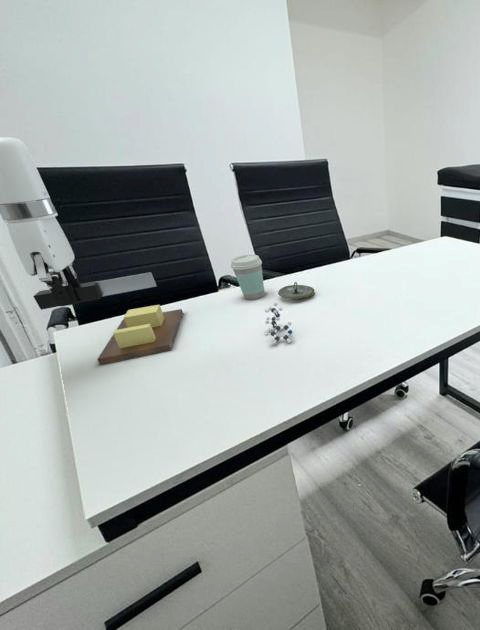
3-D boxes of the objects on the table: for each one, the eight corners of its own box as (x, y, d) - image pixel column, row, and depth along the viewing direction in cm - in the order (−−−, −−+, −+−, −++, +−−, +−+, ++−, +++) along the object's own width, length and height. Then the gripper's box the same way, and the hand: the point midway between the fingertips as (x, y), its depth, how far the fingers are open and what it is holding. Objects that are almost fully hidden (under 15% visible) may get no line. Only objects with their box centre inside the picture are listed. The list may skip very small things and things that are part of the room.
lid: (278, 299, 119) (271, 286, 116) (306, 284, 122) (300, 270, 120) (291, 311, 111) (283, 298, 108) (320, 295, 115) (314, 281, 112)
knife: (40, 309, 77) (32, 295, 75) (46, 304, 79) (38, 290, 78) (155, 288, 83) (149, 274, 82) (157, 283, 86) (152, 270, 84)
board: (99, 364, 86) (97, 359, 85) (125, 324, 104) (123, 319, 103) (171, 350, 90) (169, 344, 90) (183, 313, 109) (181, 308, 108)
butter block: (129, 331, 96) (123, 317, 95) (134, 323, 101) (128, 309, 99) (161, 325, 99) (155, 311, 97) (164, 318, 103) (159, 304, 101)
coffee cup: (265, 288, 123) (257, 252, 118) (272, 296, 117) (263, 258, 112) (237, 295, 119) (227, 257, 114) (242, 304, 113) (232, 265, 108)
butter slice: (119, 348, 89) (112, 333, 87) (121, 344, 90) (115, 329, 89) (154, 341, 91) (148, 327, 89) (156, 338, 93) (150, 323, 91)
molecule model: (267, 356, 90) (275, 331, 86) (255, 322, 97) (261, 297, 93) (294, 354, 94) (302, 330, 90) (280, 321, 101) (287, 297, 97)
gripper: (22, 206, 77) (64, 291, 85) (-23, 221, 63) (32, 321, 71) (69, 202, 79) (105, 285, 87) (34, 215, 66) (81, 312, 74)
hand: (72, 300), depth 79 cm, fingers closed on knife, 3 cm apart
